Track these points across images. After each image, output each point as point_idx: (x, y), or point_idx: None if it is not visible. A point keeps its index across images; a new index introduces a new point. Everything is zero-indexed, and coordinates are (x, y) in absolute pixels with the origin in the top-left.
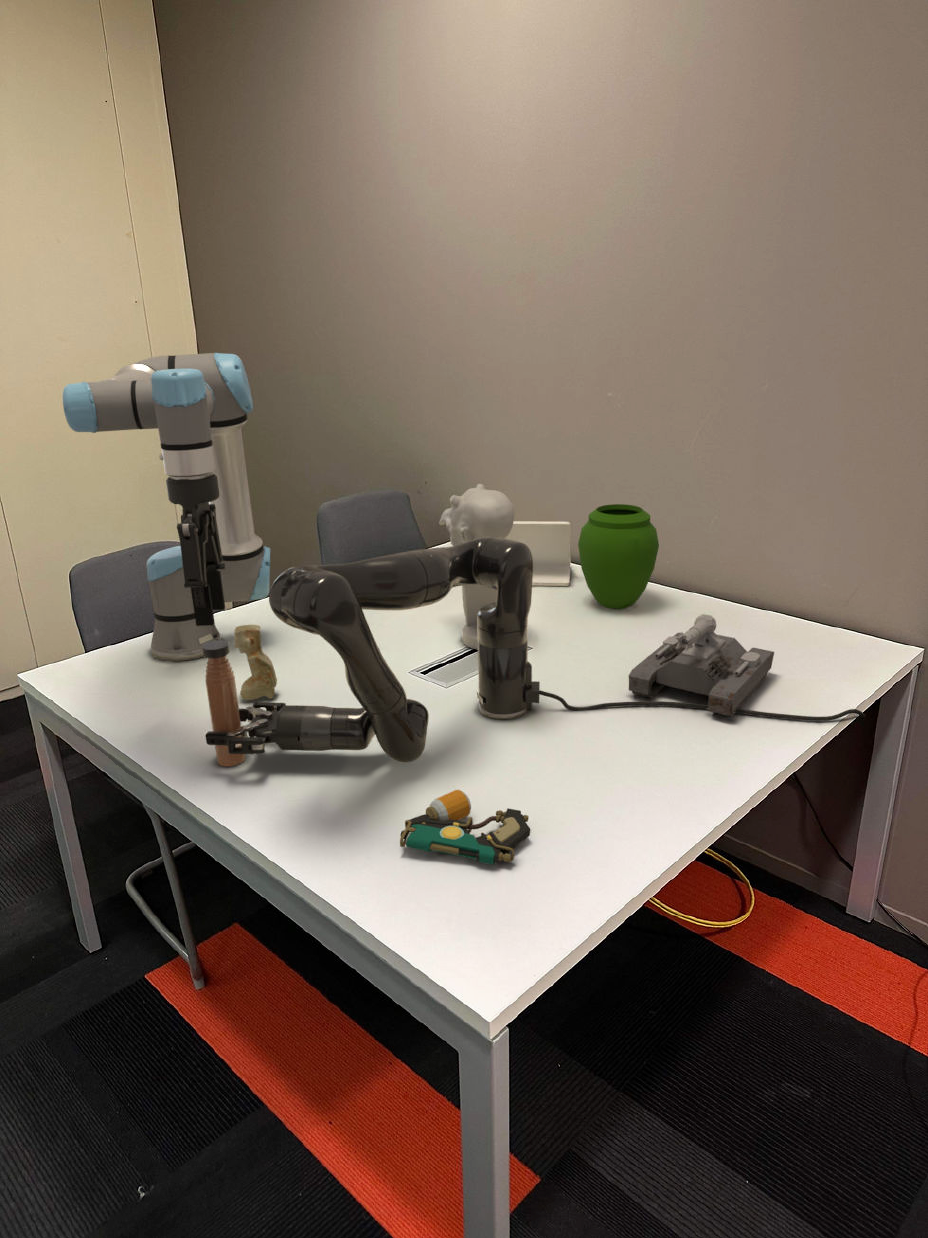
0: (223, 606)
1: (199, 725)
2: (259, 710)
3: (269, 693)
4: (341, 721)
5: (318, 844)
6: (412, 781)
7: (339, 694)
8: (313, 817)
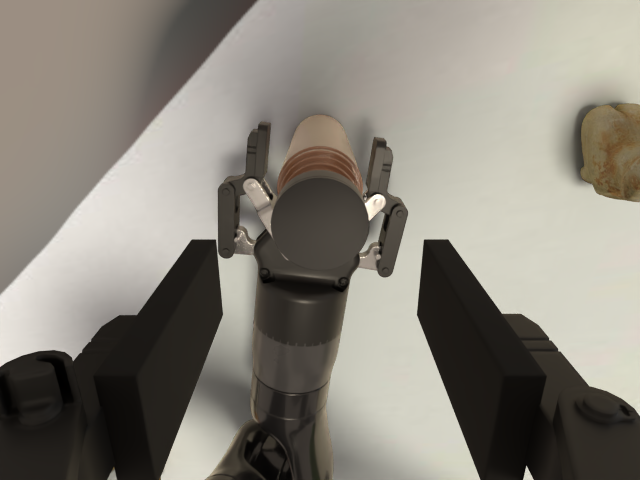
0: (420, 322)
1: (488, 28)
2: None
3: (585, 175)
4: (261, 399)
5: (69, 322)
6: (236, 422)
7: (563, 303)
8: (135, 308)
